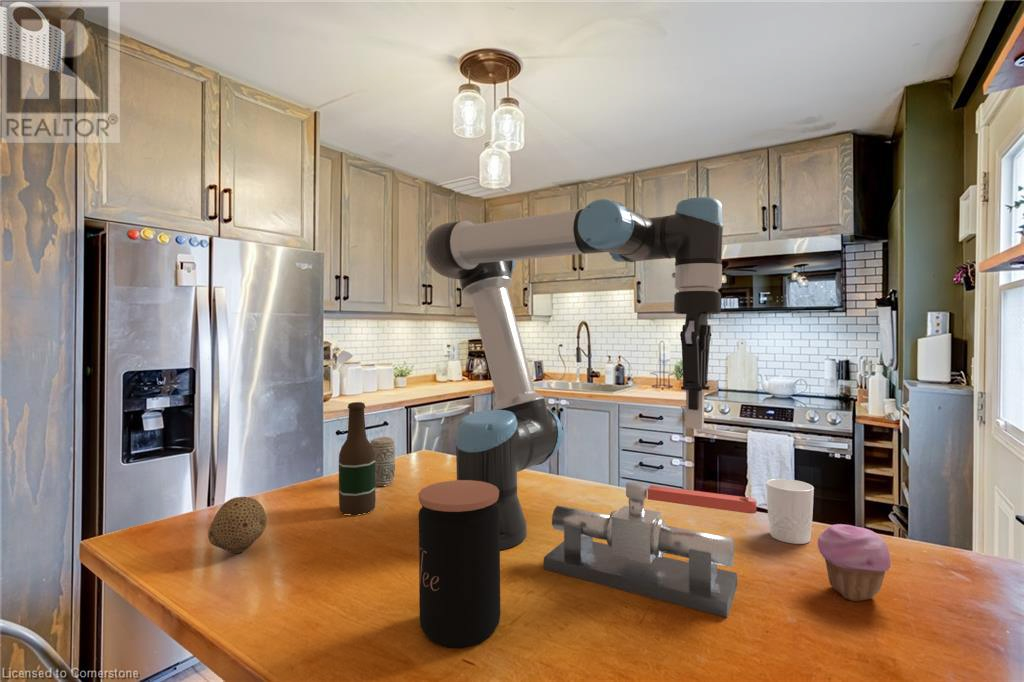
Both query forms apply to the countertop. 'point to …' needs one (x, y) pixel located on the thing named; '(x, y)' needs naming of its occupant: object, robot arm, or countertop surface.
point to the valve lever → (691, 497)
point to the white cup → (790, 510)
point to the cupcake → (854, 560)
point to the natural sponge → (237, 524)
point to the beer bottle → (356, 466)
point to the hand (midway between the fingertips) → (694, 427)
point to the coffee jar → (459, 562)
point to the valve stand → (645, 556)
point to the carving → (384, 460)
